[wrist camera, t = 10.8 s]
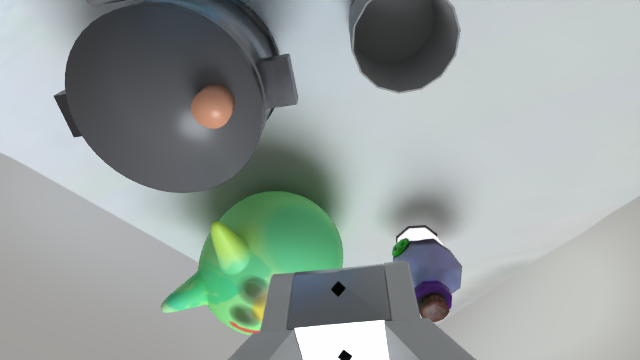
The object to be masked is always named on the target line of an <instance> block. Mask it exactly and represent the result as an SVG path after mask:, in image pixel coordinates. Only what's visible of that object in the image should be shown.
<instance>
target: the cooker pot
mask: <svg viewBox="0 0 640 360" xmlns="http://www.w3.org/2000/svg"><path fill="white" fill-rule="evenodd" d="M140 3H166V4H171V5H177V6H180V7H183V8H186V9H189V10H192V11H194V12H196V13H198V14H201V15H203V16H204V17H206V18H208V19H209V20H211V21H213V22H214V23H216V24H217V25H218V26H220V27H221V28H222V29H223V30H225V31H226V32H227V33H228V34H229V35H230V36H231V37H232V38H233V39H234V40H235V41H236V42H237V43H238V44H239V46H240V47H241V48H242V49H243V51H244V52H245V53H246V55H247V56H248V58H249V60H250V61H251V63H252V65H253V67H254V69H255V71H256V73H257V76H258V78H259V81H260V85H261V88H262V92H263V98H264V122H263V127H262V130H263V128H264V125H265V123H266V120H267V119H268V118H269V116H270V115H271V113H272V111H273V109H274V108H275V107H282V106H289V105H296V104H297V101H298V94H297V89H296V84H295V79H294V74H293V69H292V64H291V59H290V54H284V55H279V53H278V50H277V47H276V44H275V42H274V40H273V37H272V36H271V34H270V32H269V30H268V29H267V27H266V26H265V25H264V23H263V22H262V20H261V19H260V18H259V17H258V16H257V15H256V14H255V13H254V12H253V11H252V10H251V9H250V8H249V7H248V6H246V5H245V4H244V3H243V2H241V1H240V0H145V1H141V2H138V3H135V4H140ZM132 5H134V4H132ZM129 6H130V5H129ZM54 98H55V100H56V102H57V104H58V106H59V108H60V110H61V112H62V114H63V116H64V118H65V120H66V122H67V124H68V126H69V128H70V130H71V132H72V134H73V136H74V137H79V136H82V135H81V133H80V131H79V130H78V128H77V126H76V124H75V122H74V120H73V117H72V115H71V112H70V109H69V105H68V102H67V97H66V90H63V91H61V92H60V93H58V94H56V95H54ZM261 133H262V131H261Z"/></svg>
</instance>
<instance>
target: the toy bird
mask: <svg viewBox="0 0 640 360" xmlns="http://www.w3.org/2000/svg"><path fill="white" fill-rule="evenodd" d="M342 264H343V247H342V241H341V238H340V235H339V232H338V230H337V228H336V226H335V224H334V223H333V221H332V220H331V218H330V217H329V216H328V215H327V214H326V212H325V211H324V210H322V209H321V208H320V207H319V206H318V205H316V204H315V203H314V202H312V201H310V200H309V199H307V198H305V197H302V196H300V195H297V194H293V193H289V192H283V191H267V192H261V193H257V194H254V195H251V196H249V197H247V198H245V199H243V200H241V201H239V202H238V203H236V204H235V205H234V206H232V207H231V208H230V209H229V210H228V211H226V212H225V213H224V214H223V216H222V217H221V218H220V219H219V220H218V221H214V222H212V224H211V232H210V233H209V235H208V237H207V239H206V241H205V244H204V246H203V249H202V252H201V256H200V260H199V268H198V271H197V272H196V273H195V274H194V275H193V276H192V277H191V278H190V279H188V280H187V281H186V282H185V283H184V284H182V285H181V286H180V287H179V288H177V290H175V291H174V292H173V293H172V294H170V295H169V296H168V297H167V298H166V299H165V300H164V302H163V303H162V305H161V310H162V311H163V312H165V313H170V312H176V311H181V310H185V309H189V308H192V307H197V306H201V305H207V306H208V307H209V309H210V310H211V311H212V313H213V314H214V315H215V316H216V317H217V318H218V319H219V320H220V321H221V322H223V323H224V324H225V325H227V326H228V327H230V328H232V329H233V330H236V331H238V332H240V333H243V334H247V335H252V334H253V333H259V332H260V328H261V323H262V319H263V314H264V309H265V304H266V299H267V294H268V289H269V284H270V279H271V278H272V276H273V274H283V273H295V272H303V271H315V270H327V269H340V268H342Z"/></svg>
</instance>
